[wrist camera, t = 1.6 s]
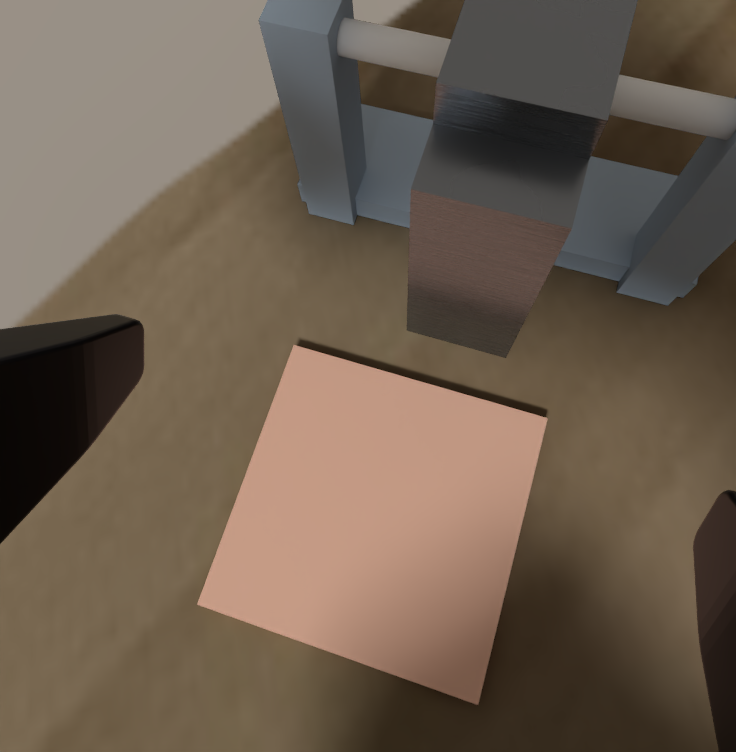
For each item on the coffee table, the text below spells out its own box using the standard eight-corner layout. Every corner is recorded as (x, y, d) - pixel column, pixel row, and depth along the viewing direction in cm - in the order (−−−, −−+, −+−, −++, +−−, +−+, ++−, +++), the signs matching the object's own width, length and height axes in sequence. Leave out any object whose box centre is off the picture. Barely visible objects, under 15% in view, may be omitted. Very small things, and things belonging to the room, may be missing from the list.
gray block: (548, 197, 26) (651, -55, 15) (505, 357, 24) (589, 194, 13) (456, 175, 26) (493, -83, 16) (406, 330, 24) (411, 152, 14)
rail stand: (700, 201, 25) (875, -8, 16) (680, 309, 24) (857, 148, 15) (335, 116, 27) (302, -112, 18) (297, 210, 26) (241, 16, 17)
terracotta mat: (545, 420, 23) (547, 418, 23) (476, 702, 20) (478, 705, 20) (295, 348, 24) (294, 344, 24) (200, 603, 22) (197, 604, 21)
